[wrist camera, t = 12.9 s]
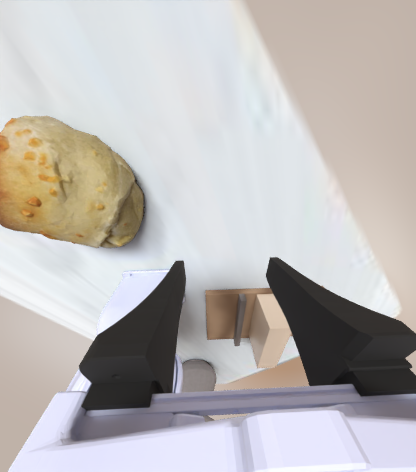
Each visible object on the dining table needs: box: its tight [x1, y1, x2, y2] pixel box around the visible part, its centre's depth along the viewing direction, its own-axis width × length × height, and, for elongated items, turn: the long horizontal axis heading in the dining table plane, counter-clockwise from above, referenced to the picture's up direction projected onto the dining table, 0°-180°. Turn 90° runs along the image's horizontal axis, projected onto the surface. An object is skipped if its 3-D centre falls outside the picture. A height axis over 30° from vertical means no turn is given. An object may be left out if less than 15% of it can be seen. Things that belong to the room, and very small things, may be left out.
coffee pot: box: [181, 359, 216, 422], centre depth 34 cm, size 21×12×15 cm, turn 132°
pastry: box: [0, 116, 145, 248], centre depth 15 cm, size 14×12×8 cm
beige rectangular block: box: [249, 294, 291, 368], centre depth 27 cm, size 4×13×6 cm, turn 1°
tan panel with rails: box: [206, 286, 324, 346], centre depth 30 cm, size 22×15×2 cm
